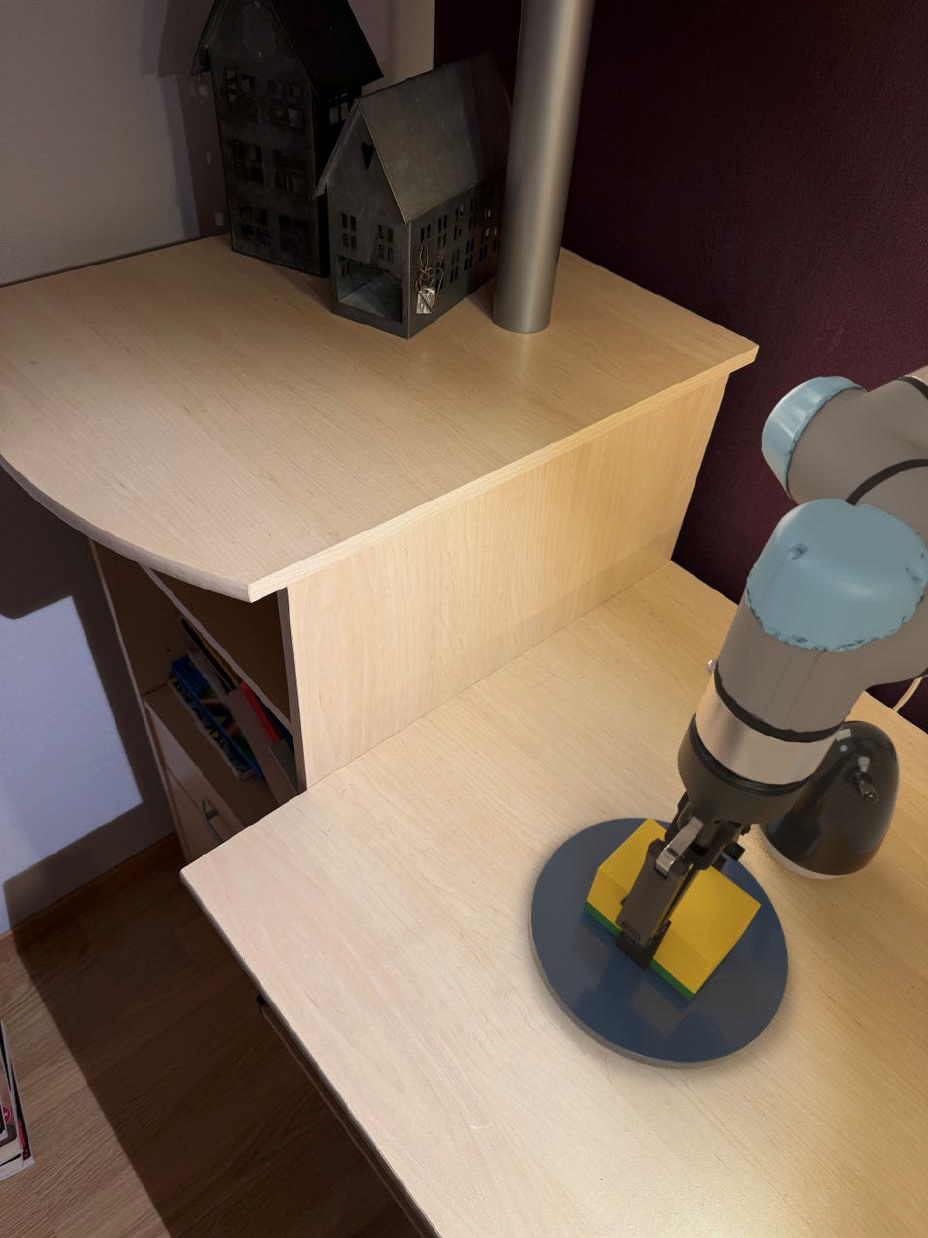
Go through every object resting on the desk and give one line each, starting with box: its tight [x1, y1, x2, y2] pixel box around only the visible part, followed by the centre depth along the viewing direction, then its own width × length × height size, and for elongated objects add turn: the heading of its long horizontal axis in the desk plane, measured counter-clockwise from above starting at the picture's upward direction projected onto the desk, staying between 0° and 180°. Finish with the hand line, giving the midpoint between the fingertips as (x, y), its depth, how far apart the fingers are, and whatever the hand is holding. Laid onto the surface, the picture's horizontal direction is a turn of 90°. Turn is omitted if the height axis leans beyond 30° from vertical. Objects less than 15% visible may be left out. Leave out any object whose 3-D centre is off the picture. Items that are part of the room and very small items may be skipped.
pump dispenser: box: [755, 719, 901, 880], centre depth 73 cm, size 10×10×15 cm
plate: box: [528, 817, 789, 1070], centre depth 71 cm, size 20×20×1 cm
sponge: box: [584, 817, 761, 1001], centre depth 68 cm, size 10×6×6 cm, turn 46°
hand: (660, 923), depth 70 cm, fingers closed on sponge, 6 cm apart
